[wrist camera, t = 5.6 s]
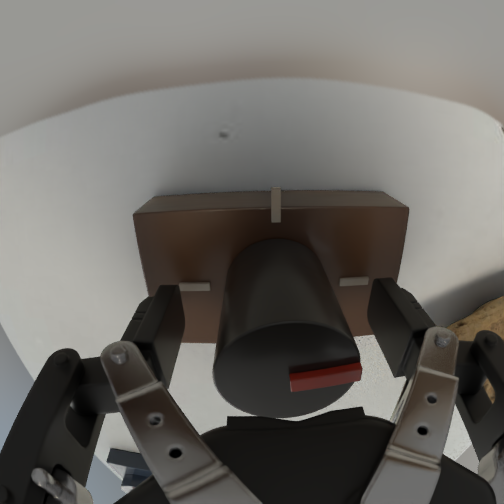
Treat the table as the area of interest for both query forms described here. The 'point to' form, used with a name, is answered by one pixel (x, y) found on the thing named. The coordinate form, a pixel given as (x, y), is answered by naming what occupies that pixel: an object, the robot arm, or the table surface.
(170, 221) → the panel
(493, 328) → the oil lamp
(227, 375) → the knob
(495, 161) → the table surface
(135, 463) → the button box
